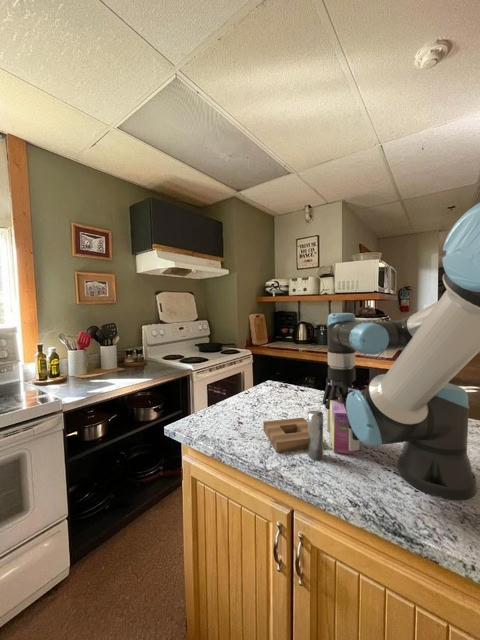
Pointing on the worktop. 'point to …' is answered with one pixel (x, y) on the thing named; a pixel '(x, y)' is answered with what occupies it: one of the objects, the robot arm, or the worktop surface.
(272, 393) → the worktop surface
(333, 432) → the box
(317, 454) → the peg
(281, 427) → the board
